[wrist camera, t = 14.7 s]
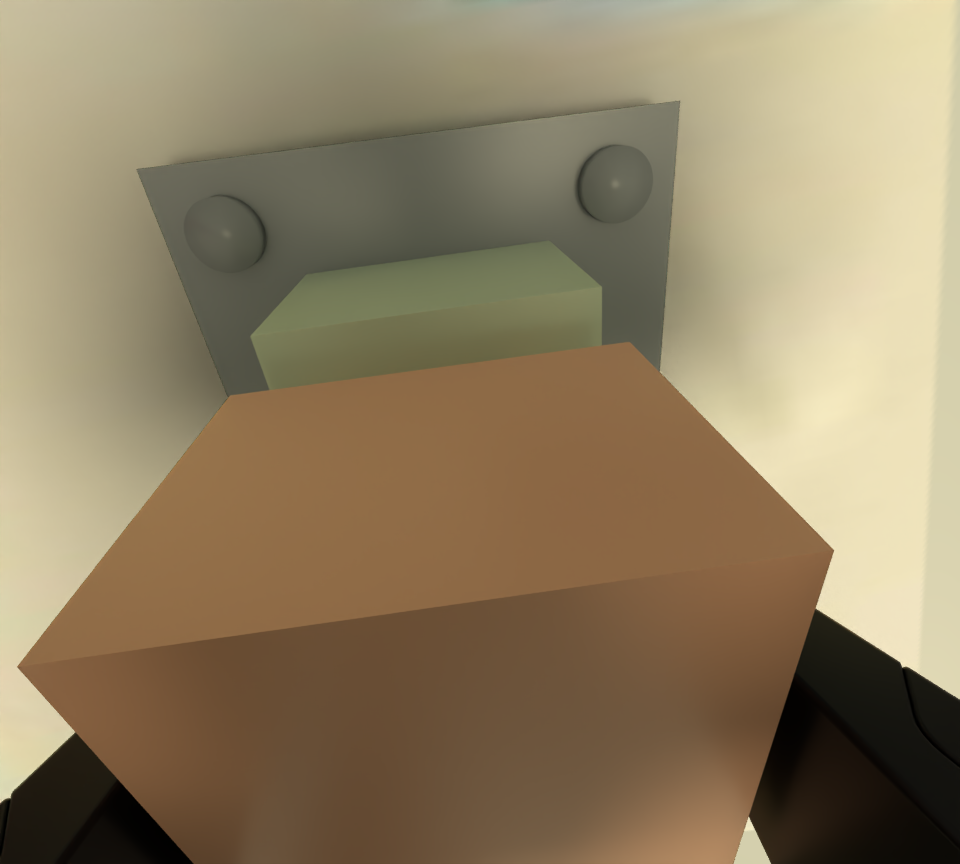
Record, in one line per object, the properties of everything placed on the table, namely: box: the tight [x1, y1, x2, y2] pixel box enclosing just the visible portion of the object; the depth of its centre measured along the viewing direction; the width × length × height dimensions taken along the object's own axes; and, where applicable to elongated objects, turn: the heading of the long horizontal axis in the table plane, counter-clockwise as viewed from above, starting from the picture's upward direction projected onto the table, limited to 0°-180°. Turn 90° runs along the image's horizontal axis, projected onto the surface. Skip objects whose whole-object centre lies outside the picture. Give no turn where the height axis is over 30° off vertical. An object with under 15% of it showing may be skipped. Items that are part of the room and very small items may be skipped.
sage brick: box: [250, 241, 602, 390], centre depth 12 cm, size 6×6×4 cm
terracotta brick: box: [17, 342, 834, 864], centre depth 7 cm, size 6×6×4 cm
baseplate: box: [137, 101, 680, 397], centre depth 15 cm, size 12×12×2 cm
